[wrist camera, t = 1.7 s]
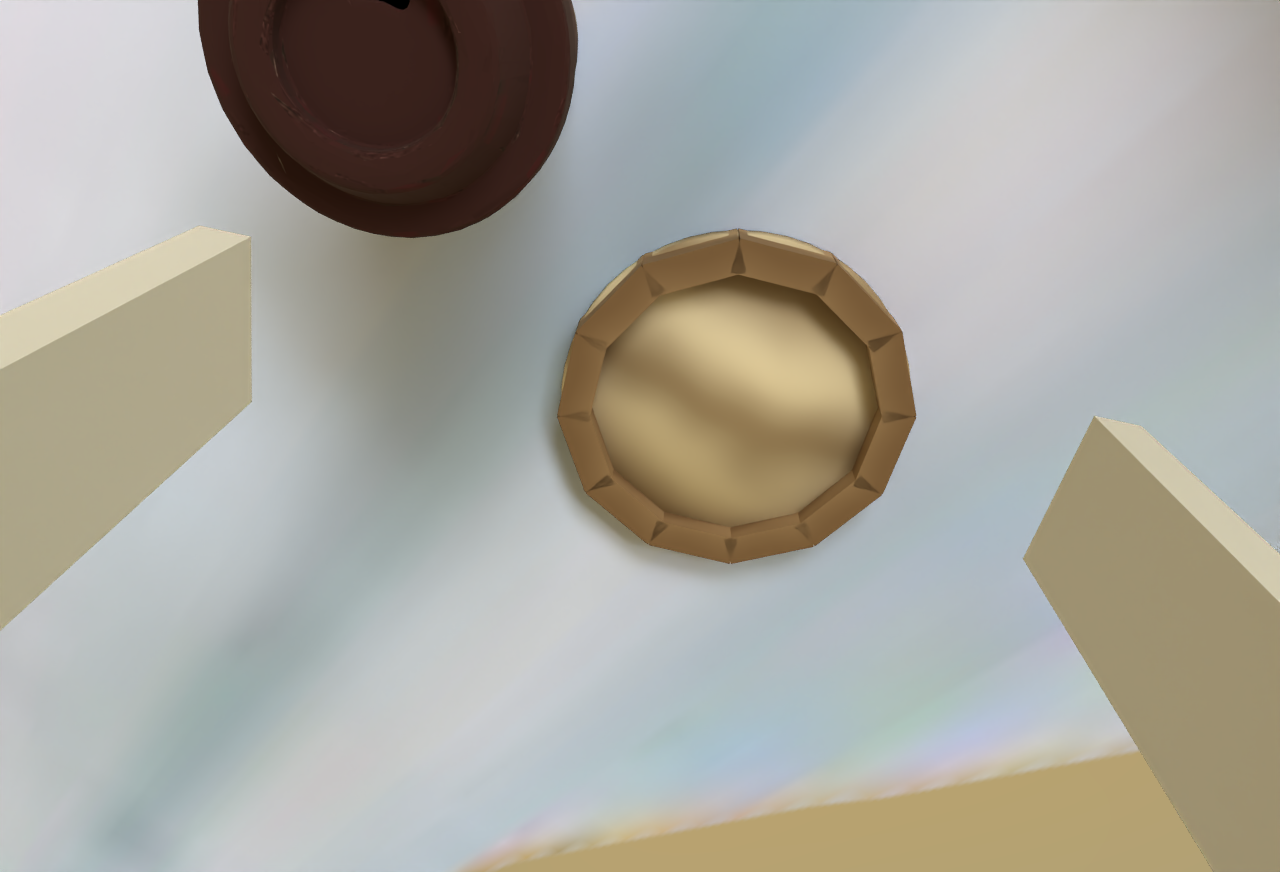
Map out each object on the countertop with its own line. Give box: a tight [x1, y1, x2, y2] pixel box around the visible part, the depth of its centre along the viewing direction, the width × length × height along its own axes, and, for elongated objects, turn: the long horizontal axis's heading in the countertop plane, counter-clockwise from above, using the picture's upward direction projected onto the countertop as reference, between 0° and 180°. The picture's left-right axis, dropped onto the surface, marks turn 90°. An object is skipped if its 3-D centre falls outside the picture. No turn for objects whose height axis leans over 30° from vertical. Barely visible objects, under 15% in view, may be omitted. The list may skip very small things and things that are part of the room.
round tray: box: [557, 228, 916, 564], centre depth 40 cm, size 16×16×2 cm
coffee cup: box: [198, 0, 578, 238], centre depth 28 cm, size 10×10×15 cm
